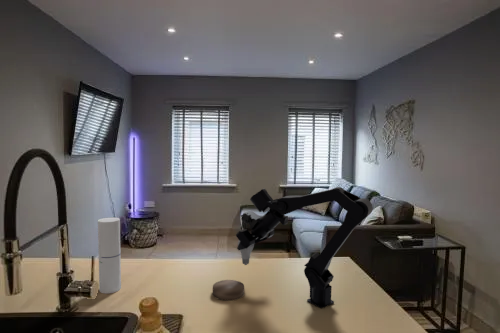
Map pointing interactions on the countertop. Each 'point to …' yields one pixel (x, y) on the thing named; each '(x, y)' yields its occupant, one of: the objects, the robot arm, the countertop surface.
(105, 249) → the cylindrical container
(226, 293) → the walnut base
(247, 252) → the lightbulb
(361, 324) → the countertop surface
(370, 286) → the countertop surface
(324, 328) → the countertop surface
